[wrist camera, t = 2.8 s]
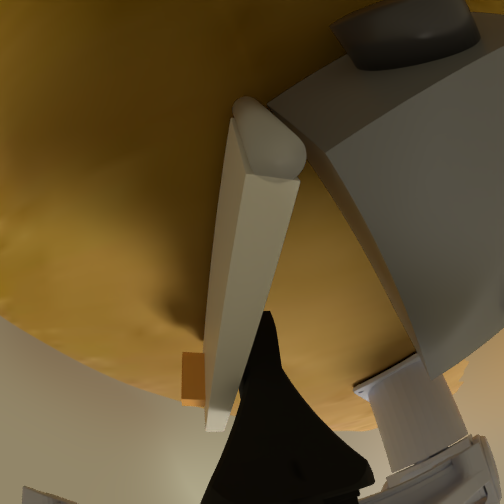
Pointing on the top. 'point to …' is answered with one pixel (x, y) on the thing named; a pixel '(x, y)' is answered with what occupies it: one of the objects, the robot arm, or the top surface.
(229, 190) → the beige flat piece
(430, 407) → the robot arm
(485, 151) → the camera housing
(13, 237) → the top surface
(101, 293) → the top surface
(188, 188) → the top surface
